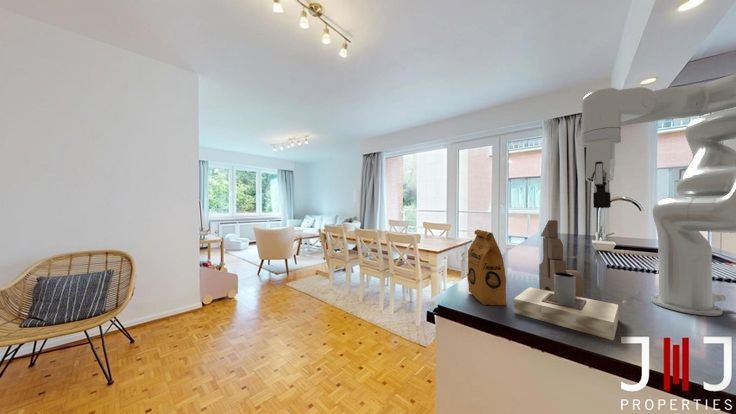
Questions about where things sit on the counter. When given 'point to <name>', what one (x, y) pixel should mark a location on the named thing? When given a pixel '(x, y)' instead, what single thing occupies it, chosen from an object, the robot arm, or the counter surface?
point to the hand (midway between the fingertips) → (602, 207)
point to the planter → (564, 289)
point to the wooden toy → (554, 260)
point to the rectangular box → (569, 312)
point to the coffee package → (486, 270)
